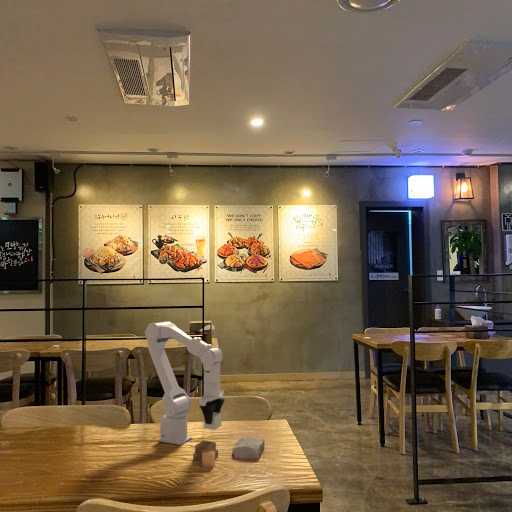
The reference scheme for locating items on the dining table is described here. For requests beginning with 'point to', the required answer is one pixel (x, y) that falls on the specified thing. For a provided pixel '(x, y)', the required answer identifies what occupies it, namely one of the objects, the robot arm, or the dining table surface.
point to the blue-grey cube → (214, 422)
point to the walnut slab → (199, 456)
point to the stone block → (248, 448)
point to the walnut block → (205, 446)
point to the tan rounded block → (208, 459)
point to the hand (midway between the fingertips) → (212, 421)
